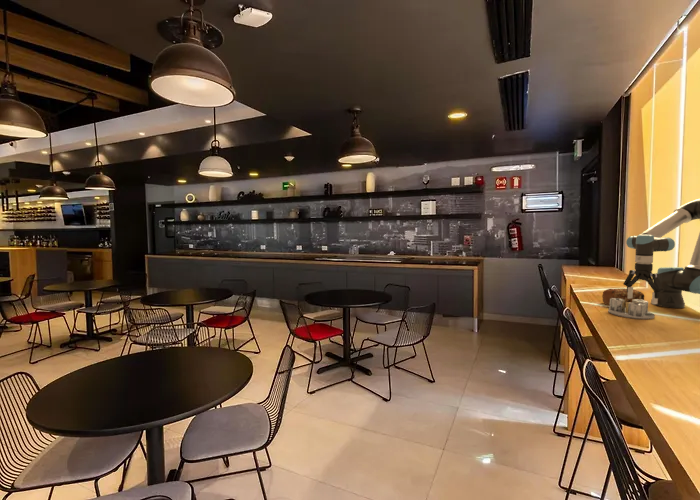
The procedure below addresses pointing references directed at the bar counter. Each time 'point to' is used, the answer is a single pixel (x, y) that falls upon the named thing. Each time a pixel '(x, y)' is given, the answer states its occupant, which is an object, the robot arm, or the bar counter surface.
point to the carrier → (628, 309)
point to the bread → (621, 295)
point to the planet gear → (642, 303)
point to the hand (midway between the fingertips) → (641, 301)
